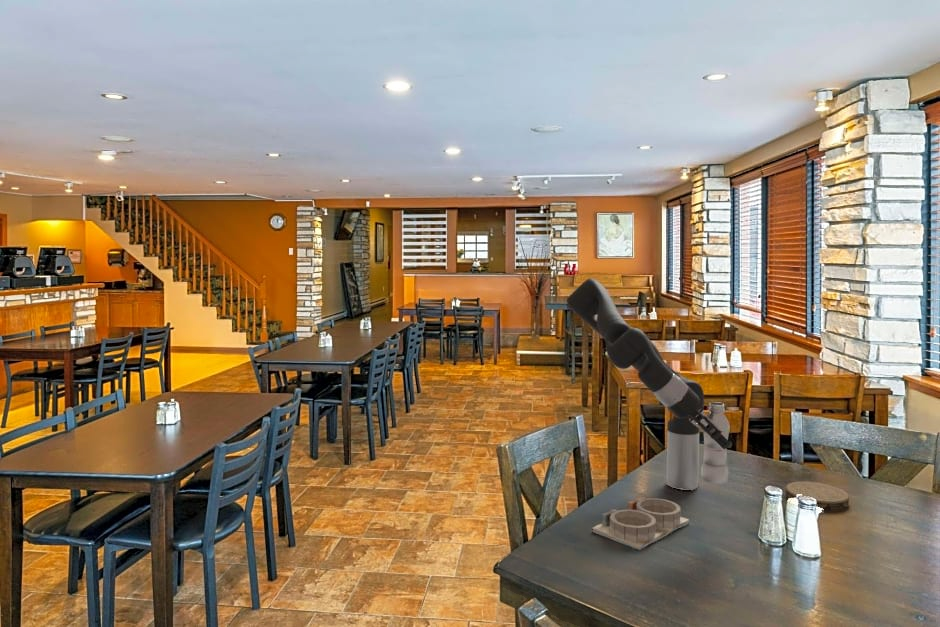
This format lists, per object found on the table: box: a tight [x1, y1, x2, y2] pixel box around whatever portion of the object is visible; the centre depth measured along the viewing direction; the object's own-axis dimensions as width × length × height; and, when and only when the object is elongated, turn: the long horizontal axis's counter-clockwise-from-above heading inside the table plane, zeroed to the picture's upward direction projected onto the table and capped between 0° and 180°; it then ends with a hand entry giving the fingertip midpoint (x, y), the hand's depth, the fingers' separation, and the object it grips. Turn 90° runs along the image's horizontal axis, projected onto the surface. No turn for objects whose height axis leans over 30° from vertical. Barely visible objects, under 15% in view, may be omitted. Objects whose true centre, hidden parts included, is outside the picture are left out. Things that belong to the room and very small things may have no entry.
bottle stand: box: [591, 497, 690, 548], centre depth 166 cm, size 23×14×5 cm, turn 131°
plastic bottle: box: [700, 401, 731, 485], centre depth 159 cm, size 6×7×20 cm
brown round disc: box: [785, 481, 850, 512], centre depth 184 cm, size 16×16×3 cm
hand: (722, 442), depth 159 cm, fingers closed on plastic bottle, 6 cm apart
